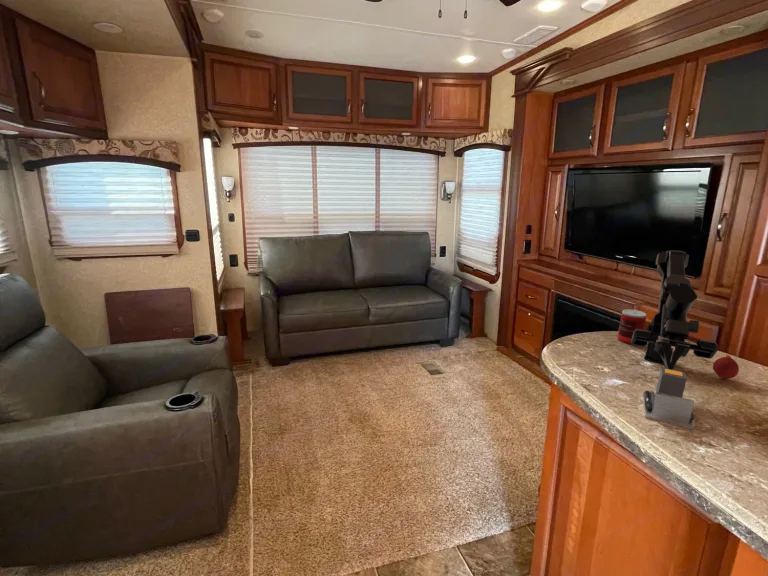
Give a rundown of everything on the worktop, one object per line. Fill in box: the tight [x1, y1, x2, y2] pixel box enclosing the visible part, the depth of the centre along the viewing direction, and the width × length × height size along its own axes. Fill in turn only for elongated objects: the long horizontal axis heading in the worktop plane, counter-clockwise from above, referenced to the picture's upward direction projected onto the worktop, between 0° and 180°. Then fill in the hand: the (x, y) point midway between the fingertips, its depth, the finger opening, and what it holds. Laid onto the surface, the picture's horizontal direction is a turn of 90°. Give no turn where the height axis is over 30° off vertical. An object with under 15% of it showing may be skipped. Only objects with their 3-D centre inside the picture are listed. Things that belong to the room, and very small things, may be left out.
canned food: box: [617, 308, 647, 345], centre depth 145 cm, size 8×8×11 cm
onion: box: [712, 353, 740, 381], centre depth 117 cm, size 6×6×8 cm
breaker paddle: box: [654, 367, 687, 398], centre depth 102 cm, size 4×5×9 cm
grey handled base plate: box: [642, 390, 696, 431], centre depth 100 cm, size 12×10×7 cm
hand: (669, 371), depth 106 cm, fingers closed
